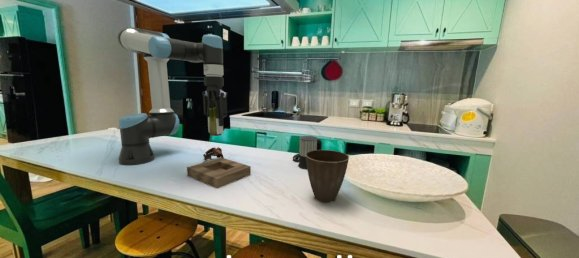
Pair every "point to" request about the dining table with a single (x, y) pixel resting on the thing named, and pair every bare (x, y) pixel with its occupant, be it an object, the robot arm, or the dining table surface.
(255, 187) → the dining table surface
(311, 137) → the milk frother
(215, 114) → the fennel bulb
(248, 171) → the tray
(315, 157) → the plant pot
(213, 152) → the brown animal figurine
